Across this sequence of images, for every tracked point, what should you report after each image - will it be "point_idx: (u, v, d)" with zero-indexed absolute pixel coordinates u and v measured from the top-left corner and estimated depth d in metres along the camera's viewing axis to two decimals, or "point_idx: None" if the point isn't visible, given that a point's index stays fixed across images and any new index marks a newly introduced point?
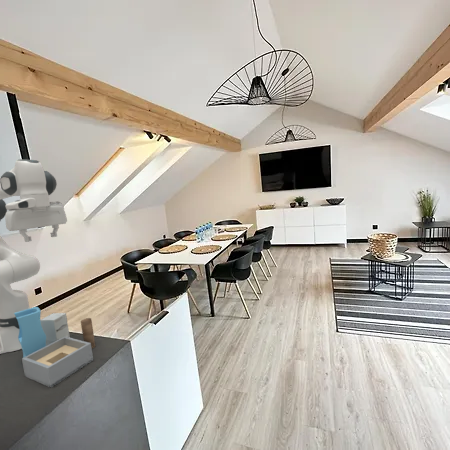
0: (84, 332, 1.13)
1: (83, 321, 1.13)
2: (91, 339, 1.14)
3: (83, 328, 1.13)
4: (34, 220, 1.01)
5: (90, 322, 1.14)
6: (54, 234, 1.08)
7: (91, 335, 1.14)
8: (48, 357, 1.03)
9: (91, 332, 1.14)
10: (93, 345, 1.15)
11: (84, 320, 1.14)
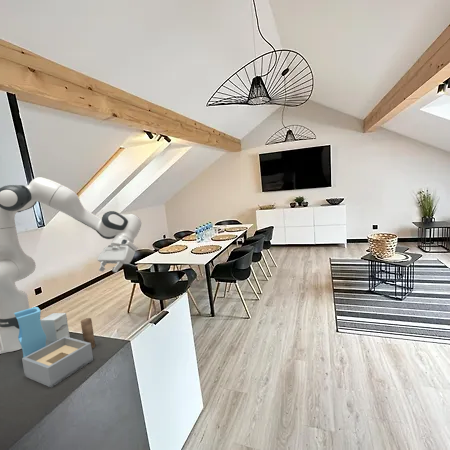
0: (84, 332, 1.13)
1: (83, 321, 1.13)
2: (91, 339, 1.14)
3: (83, 328, 1.13)
4: None
5: (90, 322, 1.14)
6: None
7: (91, 335, 1.14)
8: (48, 357, 1.03)
9: (91, 332, 1.14)
10: (93, 345, 1.15)
11: (84, 320, 1.14)
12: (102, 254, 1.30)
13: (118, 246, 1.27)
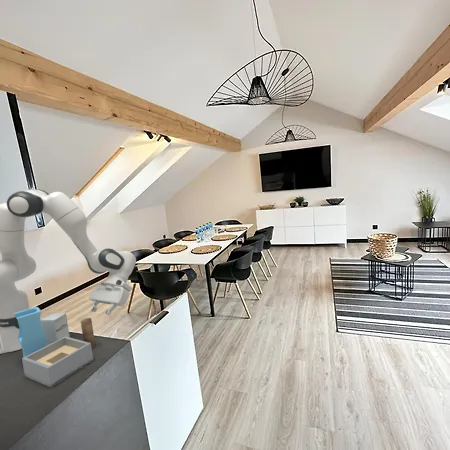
0: (84, 332, 1.13)
1: (83, 321, 1.13)
2: (91, 339, 1.14)
3: (83, 328, 1.13)
4: None
5: (90, 322, 1.14)
6: None
7: (91, 335, 1.14)
8: (48, 357, 1.03)
9: (91, 332, 1.14)
10: (93, 345, 1.15)
11: (84, 320, 1.14)
12: (94, 292, 1.27)
13: (112, 286, 1.24)
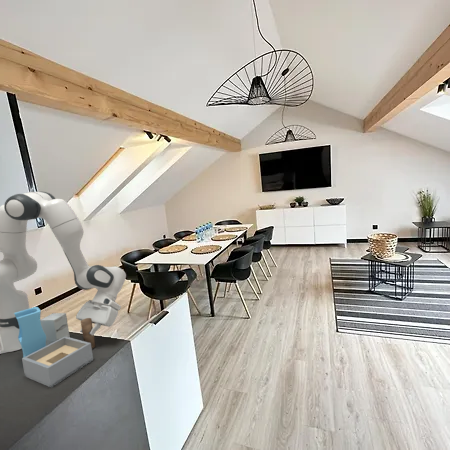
0: (84, 332, 1.13)
1: (83, 321, 1.13)
2: (91, 339, 1.14)
3: (83, 328, 1.13)
4: None
5: (90, 322, 1.14)
6: None
7: (91, 335, 1.14)
8: (48, 357, 1.03)
9: None
10: (93, 345, 1.15)
11: (84, 320, 1.14)
12: (81, 311, 1.21)
13: (100, 305, 1.18)
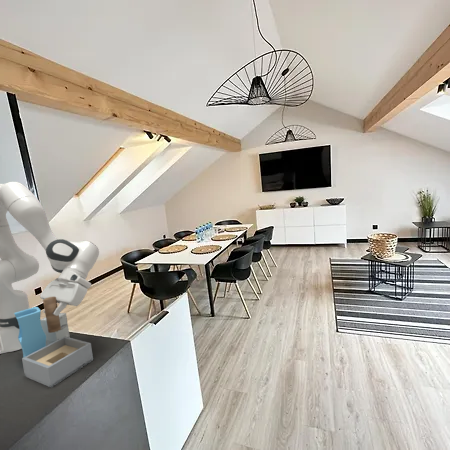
0: (47, 312, 0.98)
1: (46, 299, 0.99)
2: (56, 321, 1.00)
3: (46, 307, 0.98)
4: None
5: (54, 301, 0.99)
6: None
7: (55, 316, 1.00)
8: (48, 357, 1.03)
9: None
10: (58, 327, 1.00)
11: (47, 298, 1.00)
12: (46, 290, 1.06)
13: (66, 282, 1.03)
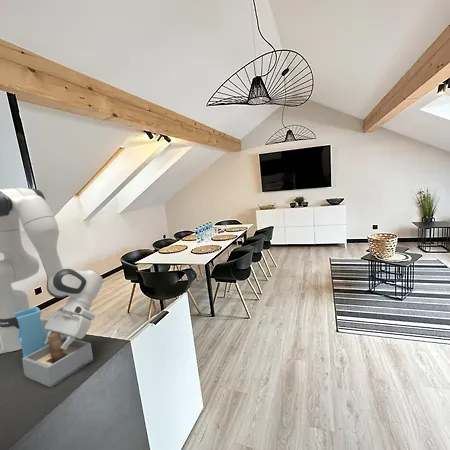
0: (51, 349, 1.00)
1: (50, 336, 1.00)
2: (60, 357, 1.01)
3: (50, 344, 0.99)
4: None
5: (58, 337, 1.01)
6: None
7: (60, 352, 1.01)
8: (48, 357, 1.03)
9: (60, 349, 1.01)
10: None
11: (52, 335, 1.01)
12: (51, 321, 1.07)
13: (71, 314, 1.05)
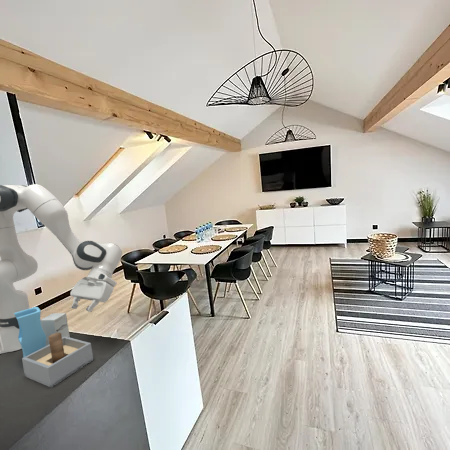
0: (52, 349, 1.00)
1: (51, 336, 1.00)
2: (61, 357, 1.01)
3: (51, 345, 0.99)
4: None
5: (59, 338, 1.01)
6: None
7: (60, 352, 1.01)
8: (48, 357, 1.03)
9: (60, 349, 1.01)
10: None
11: (53, 335, 1.01)
12: (75, 288, 1.17)
13: (94, 281, 1.14)
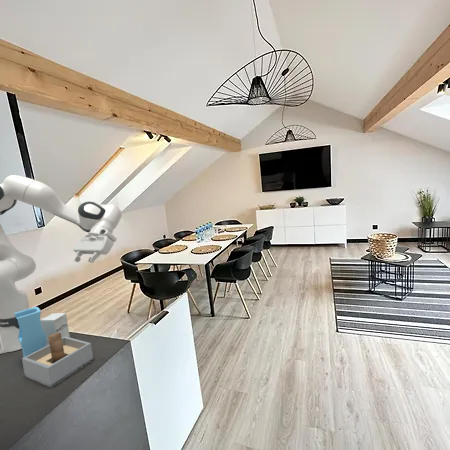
0: (52, 349, 1.00)
1: (51, 336, 1.00)
2: (61, 357, 1.01)
3: (51, 345, 0.99)
4: None
5: (59, 337, 1.01)
6: None
7: (60, 352, 1.01)
8: (48, 357, 1.03)
9: (60, 349, 1.01)
10: None
11: (52, 335, 1.01)
12: (78, 244, 1.25)
13: (96, 236, 1.22)
